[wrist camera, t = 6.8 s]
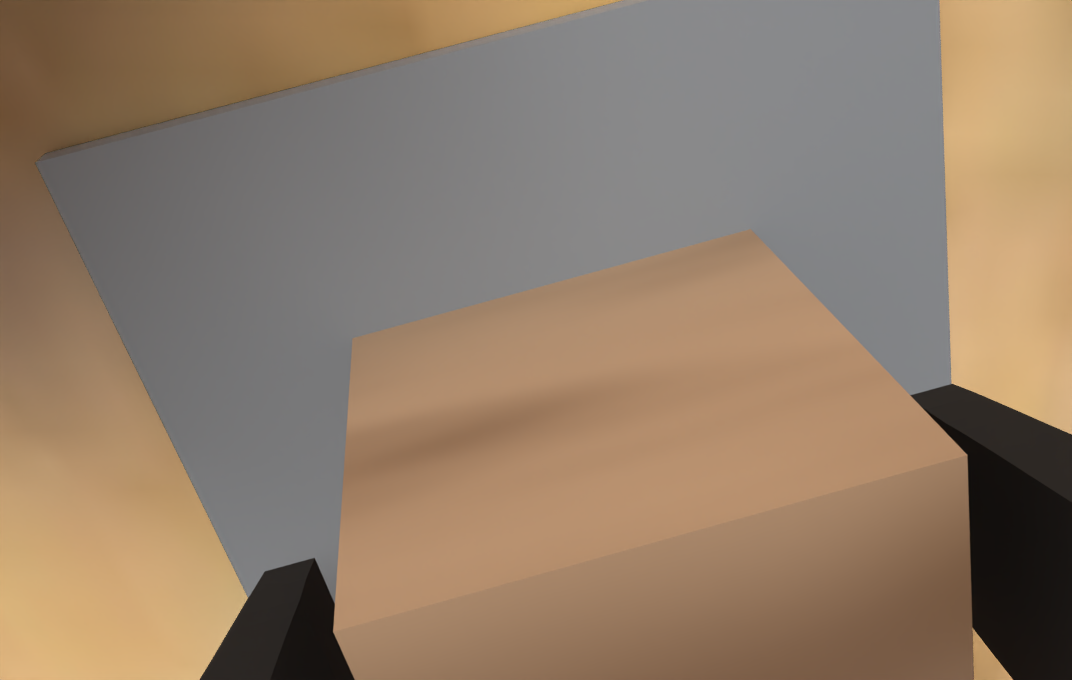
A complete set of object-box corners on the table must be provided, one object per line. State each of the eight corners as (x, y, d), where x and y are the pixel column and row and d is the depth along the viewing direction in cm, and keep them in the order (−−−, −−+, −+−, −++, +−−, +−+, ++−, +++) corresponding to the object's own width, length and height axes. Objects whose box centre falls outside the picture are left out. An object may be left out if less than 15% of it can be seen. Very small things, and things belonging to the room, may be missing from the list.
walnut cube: (794, 541, 16) (979, 855, 11) (461, 634, 16) (495, 993, 11) (750, 229, 13) (967, 455, 8) (352, 337, 13) (333, 631, 8)
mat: (946, 586, 17) (958, 602, 17) (335, 755, 17) (334, 774, 17) (920, -79, 12) (936, -76, 12) (45, 153, 12) (35, 162, 11)
